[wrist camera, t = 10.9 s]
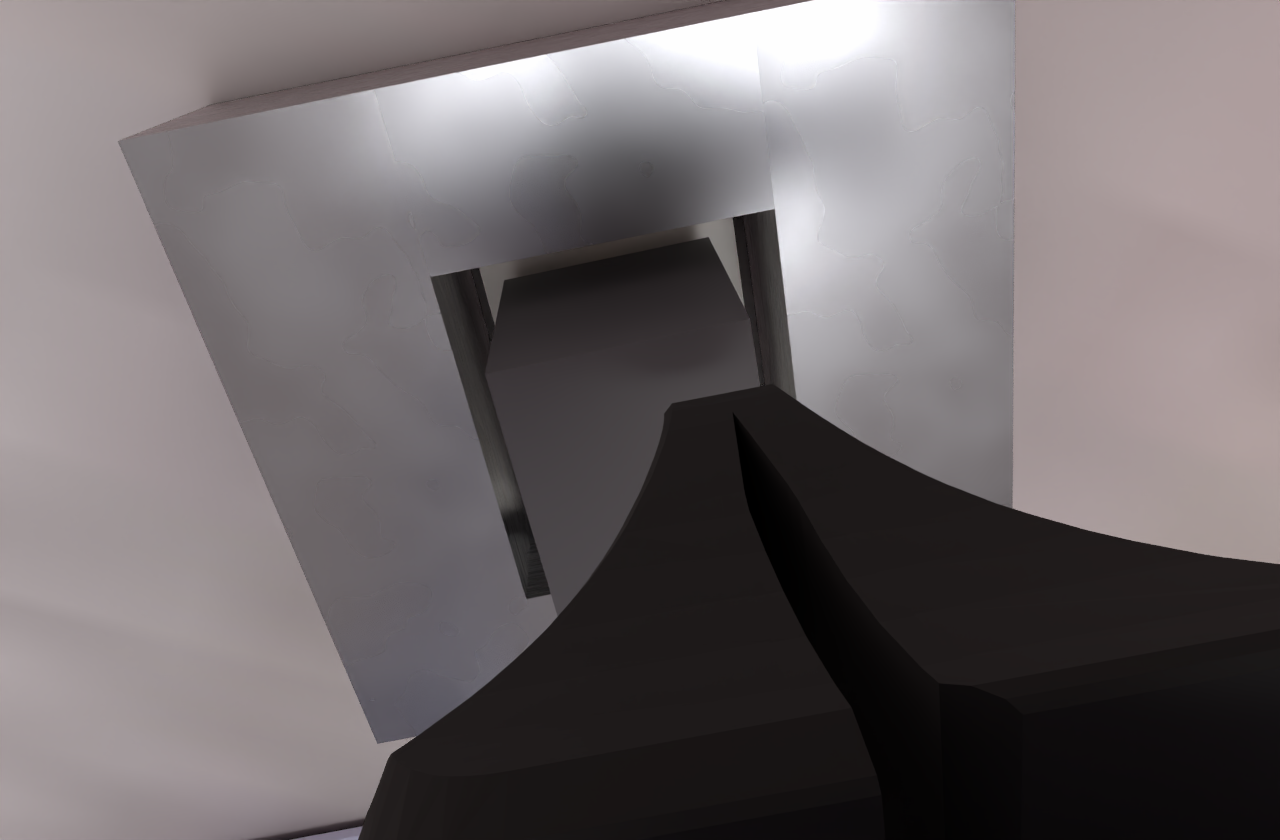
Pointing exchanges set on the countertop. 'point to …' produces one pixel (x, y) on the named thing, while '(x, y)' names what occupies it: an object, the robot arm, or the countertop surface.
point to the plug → (607, 386)
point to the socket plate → (572, 218)
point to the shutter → (715, 230)
